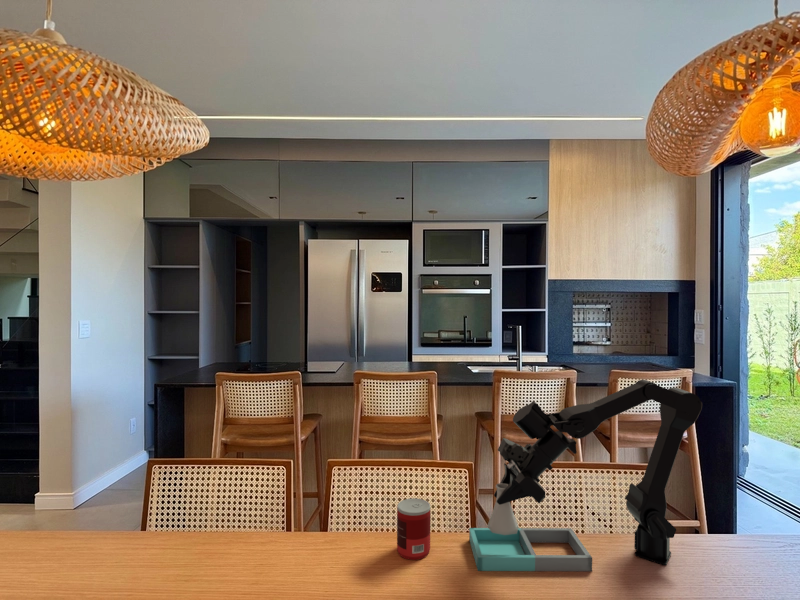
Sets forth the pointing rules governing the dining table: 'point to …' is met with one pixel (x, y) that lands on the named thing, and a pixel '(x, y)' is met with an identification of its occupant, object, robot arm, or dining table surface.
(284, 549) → the dining table surface
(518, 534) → the tray
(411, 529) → the canned food
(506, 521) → the flask
